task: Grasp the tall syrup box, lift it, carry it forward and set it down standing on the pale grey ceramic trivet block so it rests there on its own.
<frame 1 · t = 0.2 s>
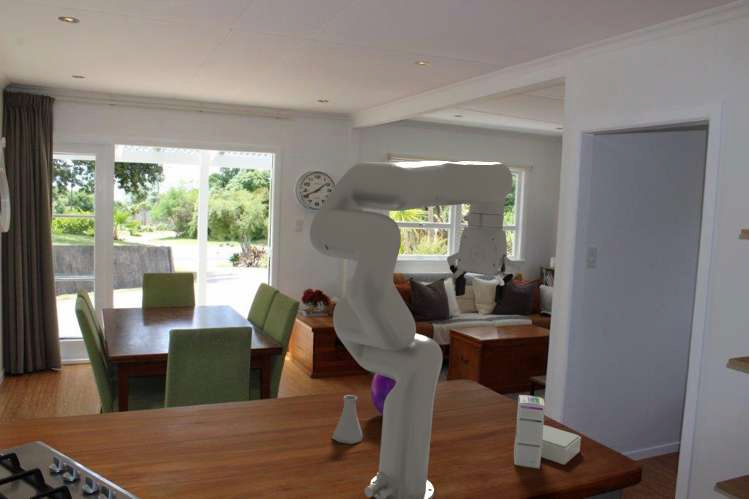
hand: (479, 298, 135), 36 cm above the kitchen counter, tool pointing down, fingers open, 9 cm apart
trivet block: (551, 451, 144), on the kitchen counter
syrup box: (526, 462, 138), on the kitchen counter
decorative orb: (397, 419, 158), on the kitchen counter
flask: (347, 439, 144), on the kitchen counter
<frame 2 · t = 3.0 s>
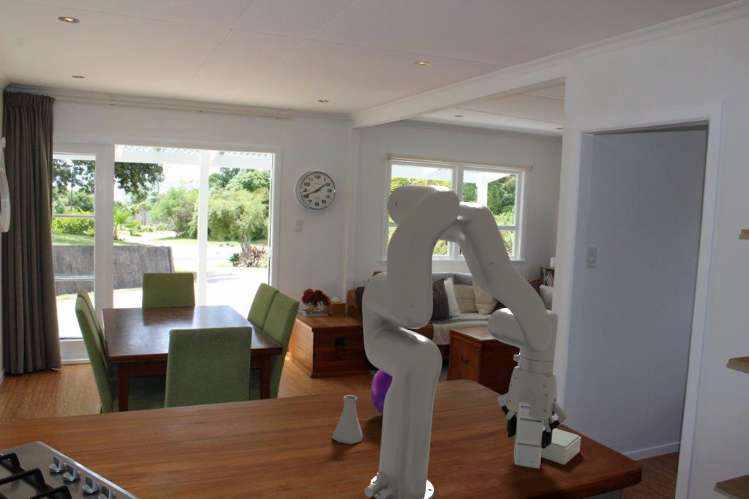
hand: (528, 440, 137), 5 cm above the kitchen counter, tool pointing down, fingers closed on syrup box, 7 cm apart
syrup box: (526, 462, 138), on the kitchen counter, touching gripper
everything else where it was.
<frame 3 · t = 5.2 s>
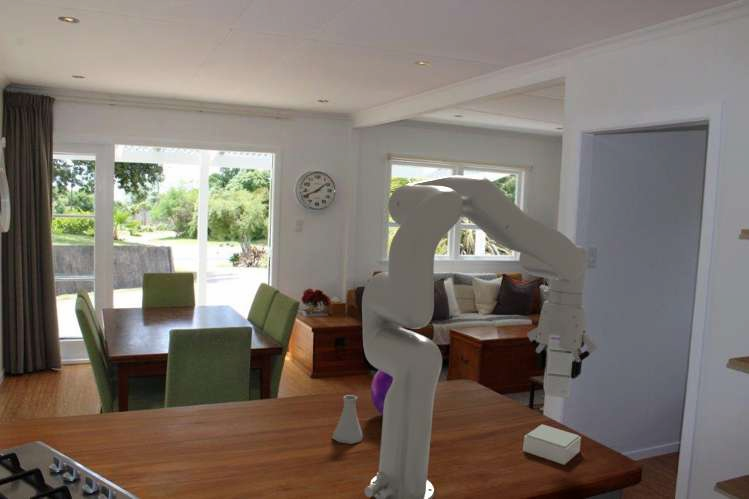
hand: (557, 372, 142), 19 cm above the kitchen counter, tool pointing down, fingers closed on syrup box, 7 cm apart
syrup box: (555, 393, 142), point 14 cm above the kitchen counter, touching gripper
everything else where it was.
when the fingers open (10 cm above the kitchen counter, at t = 7.5 s): syrup box stays where it is, resting on trivet block.
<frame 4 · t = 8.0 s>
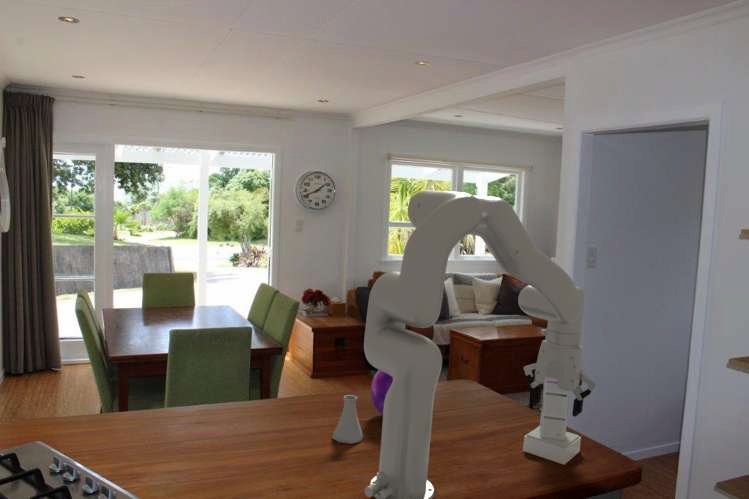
hand: (555, 409, 143), 10 cm above the kitchen counter, tool pointing down, fingers open, 9 cm apart
syrup box: (551, 435, 144), point 4 cm above the kitchen counter, touching trivet block
everything else where it was.
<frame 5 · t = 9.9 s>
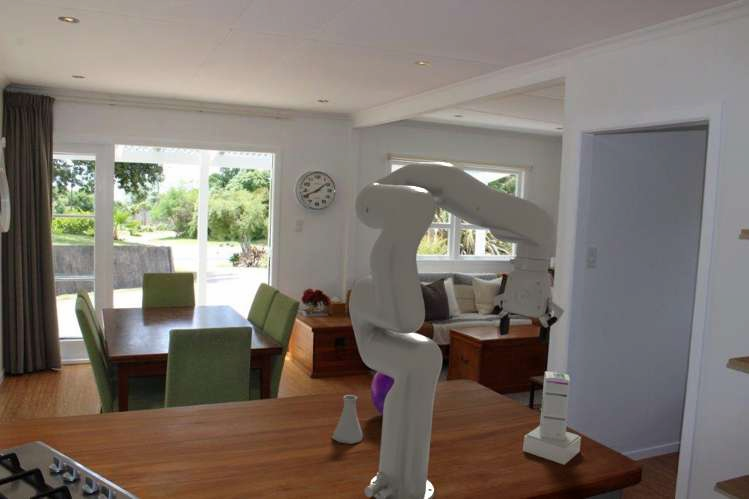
hand: (522, 338, 141), 27 cm above the kitchen counter, tool pointing down, fingers open, 9 cm apart
nothing on the kitchen counter moved.
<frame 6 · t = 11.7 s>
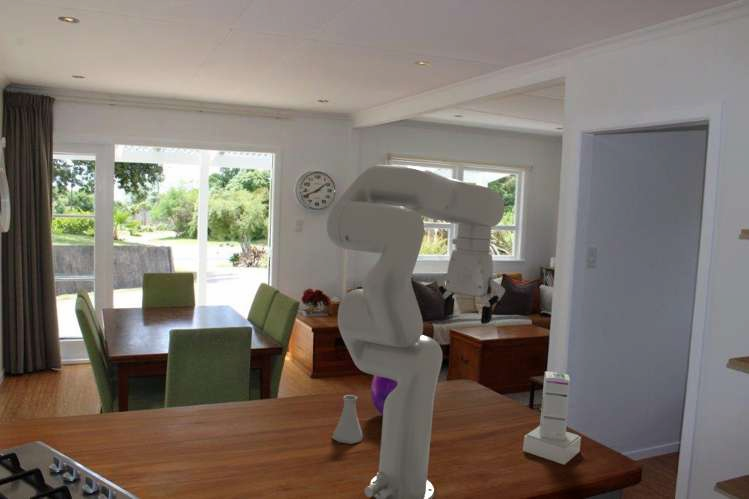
hand: (466, 319, 141), 30 cm above the kitchen counter, tool pointing down, fingers open, 9 cm apart
nothing on the kitchen counter moved.
at the end: syrup box inside the target area on the trivet block (0.4 cm from its centre), point 3.8 cm above the trivet block's base; syrup box tilted 0°; the gripper is holding nothing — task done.
